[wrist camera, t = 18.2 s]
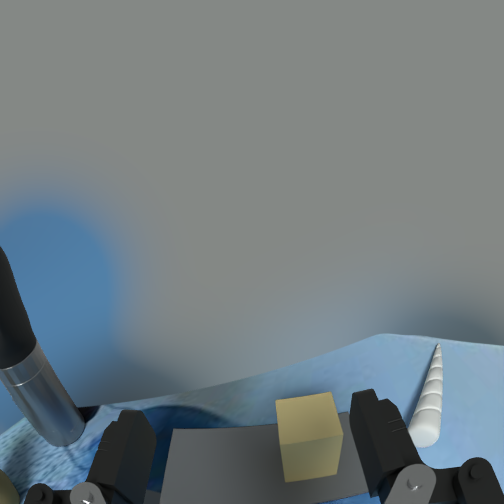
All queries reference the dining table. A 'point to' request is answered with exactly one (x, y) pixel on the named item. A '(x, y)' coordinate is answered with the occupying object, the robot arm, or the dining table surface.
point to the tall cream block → (309, 436)
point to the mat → (251, 469)
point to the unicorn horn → (429, 406)
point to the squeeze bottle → (7, 490)
